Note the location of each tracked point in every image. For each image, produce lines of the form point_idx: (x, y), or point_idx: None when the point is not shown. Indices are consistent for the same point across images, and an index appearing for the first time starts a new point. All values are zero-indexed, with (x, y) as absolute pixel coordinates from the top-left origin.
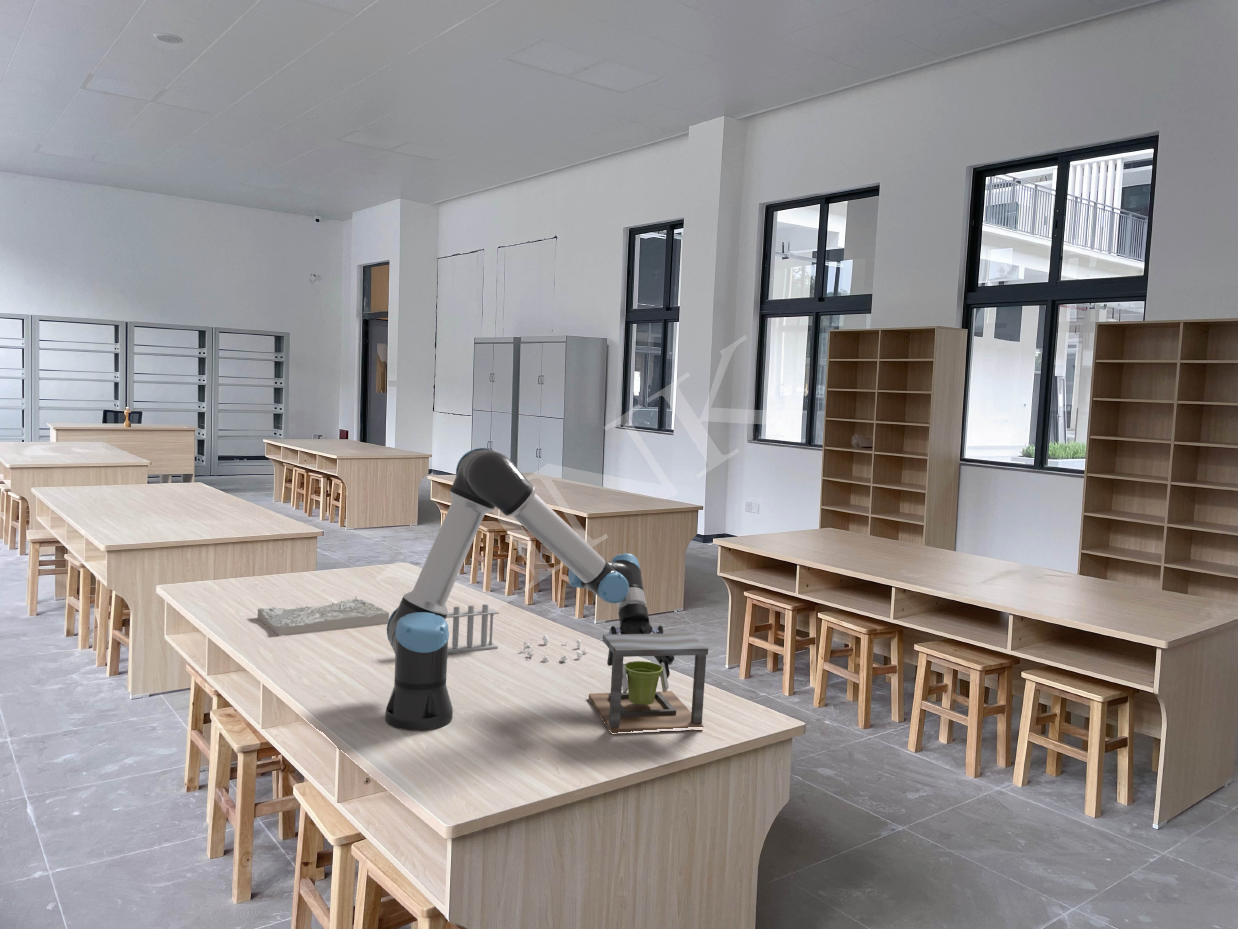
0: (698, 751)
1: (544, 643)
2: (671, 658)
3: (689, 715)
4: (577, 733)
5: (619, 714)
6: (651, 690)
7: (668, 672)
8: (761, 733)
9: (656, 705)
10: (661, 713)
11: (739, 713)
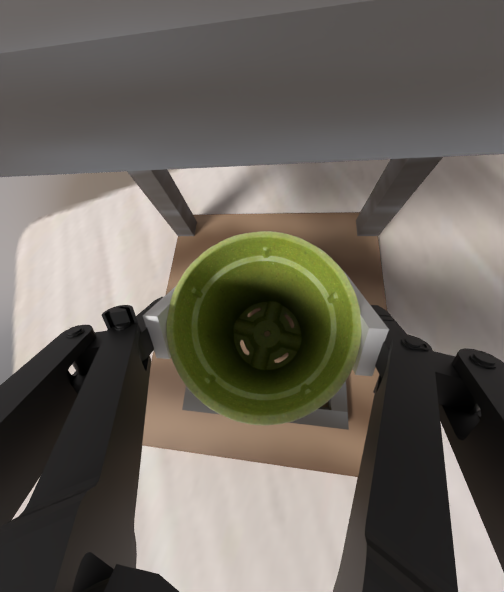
0: None
1: None
2: (83, 328)
3: (181, 263)
4: (446, 232)
5: (369, 198)
6: (248, 284)
7: (156, 302)
8: (101, 203)
9: None
10: None
11: (70, 290)
